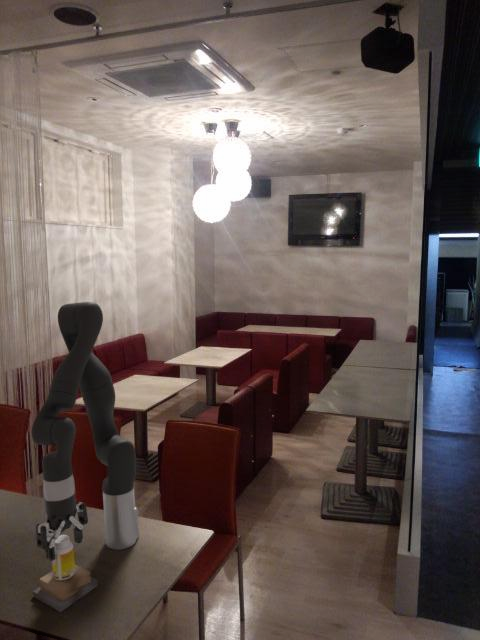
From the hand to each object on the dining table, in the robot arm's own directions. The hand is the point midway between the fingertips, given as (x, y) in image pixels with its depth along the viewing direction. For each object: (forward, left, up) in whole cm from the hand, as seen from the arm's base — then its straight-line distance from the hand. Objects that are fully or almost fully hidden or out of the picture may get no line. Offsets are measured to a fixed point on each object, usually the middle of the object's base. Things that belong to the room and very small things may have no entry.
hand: (65, 550), depth 133 cm
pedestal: (0, 0, -12) cm, 12 cm away
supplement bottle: (0, -1, -7) cm, 7 cm away
